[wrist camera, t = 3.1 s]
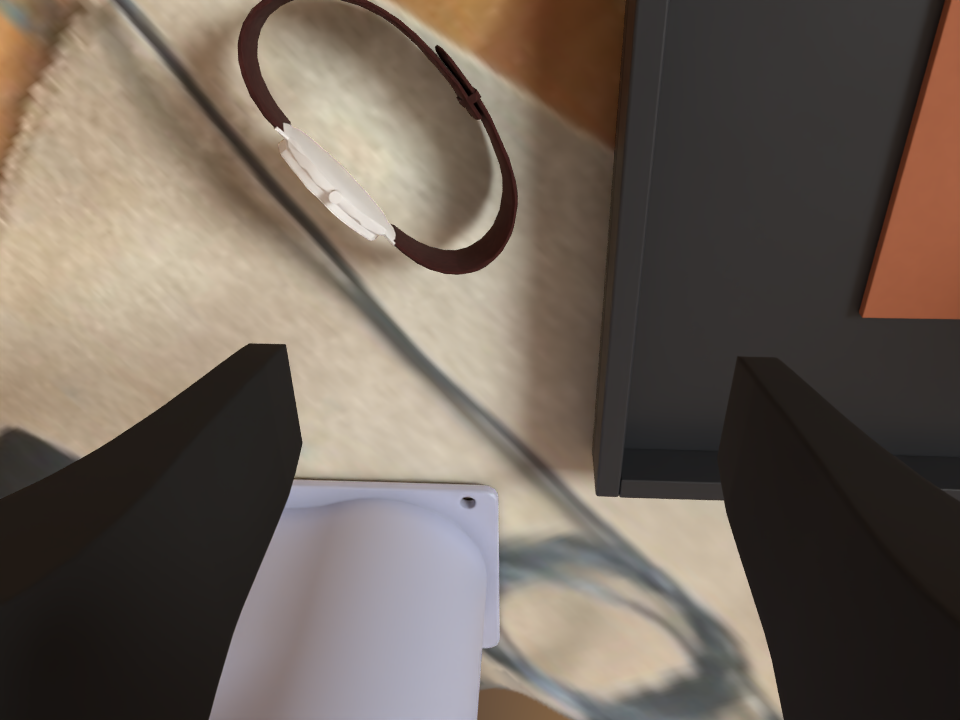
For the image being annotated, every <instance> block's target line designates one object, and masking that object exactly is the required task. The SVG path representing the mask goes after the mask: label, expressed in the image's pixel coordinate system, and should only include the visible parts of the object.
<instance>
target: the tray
mask: <svg viewBox="0 0 960 720" xmlns="http://www.w3.org/2000/svg"><path fill="white" fill-rule="evenodd" d="M944 2H945V0H626V5H625V18H624V32H623V45H622V58H621V72H620V85H619V99H618V112H617V125H616V139H615V152H614V166H613V179H612V192H611V206H610V219H609V233H608V246H607V259H606V273H605V286H604V300H603V313H602V326H601V340H600V353H599V367H598V380H597V393H596V407H595V420H594V434H593V447H592V456H593V467H594V479H595V491H596V495H597V496H607V497H617V496H620V497H625V498H659V499H692V500H724V497H723V492H722V486H721V479H720V473H719V467H718V460H717V455H718V450H719V445H720V440H721V435H722V430H723V425H724V420H725V415H726V410H727V405H728V400H729V395H730V390H731V385H732V380H733V375H734V370H735V365H736V360H737V356H742V357H777V358H778V359H780V360H781V361H782V362H783V363H785V364H786V365H787V366H788V367H789V368H791V369H792V370H793V371H794V372H795V373H796V374H797V375H799V376H800V377H801V378H802V379H803V380H804V381H805V382H807V383H808V384H809V385H810V386H811V387H812V388H813V389H814V390H816V391H817V392H818V393H819V394H820V395H821V396H822V397H823V398H825V399H826V400H827V401H828V402H829V403H830V404H831V405H833V406H834V407H835V408H836V409H837V410H838V411H839V412H841V413H842V414H843V415H844V416H845V417H846V418H848V419H849V420H850V421H851V422H852V423H854V424H855V425H856V426H857V427H858V428H860V429H861V430H862V431H863V432H864V433H866V434H867V435H868V436H869V437H871V438H872V439H873V440H874V441H876V442H877V443H878V444H879V445H881V446H882V447H883V448H884V449H886V450H887V451H888V452H890V453H891V454H892V455H894V456H895V457H896V458H898V459H899V460H900V461H902V462H903V463H904V464H906V465H907V466H908V467H910V468H911V469H912V470H914V471H915V472H916V473H918V474H919V475H921V476H922V477H923V478H925V479H926V480H928V481H929V482H931V483H932V484H934V485H935V486H937V487H938V488H940V489H941V490H943V491H944V492H946V493H947V494H949V495H951V496H952V497H954V498H955V499H957V500H958V501H960V319H909V318H862V317H861V315H860V314H859V310H860V306H861V303H862V299H863V295H864V292H865V288H866V284H867V281H868V277H869V274H870V270H871V266H872V263H873V259H874V256H875V252H876V248H877V245H878V241H879V237H880V234H881V230H882V227H883V223H884V219H885V216H886V212H887V209H888V205H889V201H890V198H891V194H892V190H893V187H894V183H895V180H896V176H897V172H898V169H899V165H900V162H901V158H902V154H903V151H904V147H905V143H906V140H907V136H908V133H909V129H910V125H911V122H912V118H913V114H914V111H915V107H916V104H917V100H918V96H919V93H920V89H921V86H922V82H923V78H924V75H925V71H926V67H927V64H928V60H929V57H930V53H931V49H932V46H933V42H934V39H935V35H936V31H937V28H938V24H939V20H940V17H941V13H942V10H943V6H944Z"/></svg>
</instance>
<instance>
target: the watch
mask: <svg viewBox="0 0 960 720" xmlns="http://www.w3.org/2000/svg"><path fill="white" fill-rule="evenodd" d="M290 1H293V0H262V1H261V2H259V3H258V4H257V5H256V6H255V7H253V8H252V9H251V11H250V13H249V14H248V16H247V17H246V19H245V21H244V22H243V25H242V28H241V31H240V35H239V40H238V61H239V65H240V69H241V74H242V77H243V79H244V82H245V84H246V87H247V89H248V92H249V94H250V96H251V98H252V99H253V101H254V102H255V104H256V105H257V107H258V108H259V110H260V111H261V113H262V114H263V116H264V117H265V118H266V119H267V120H268V121H269V122H270V123H271V124H272V125H273V126H274V129H275V130H276V131H277V132H278V133H279V134H280V135H281V136H282V137H283V138H284V139H283V140H282V141H281V142H280V143H279V144H278V147H279V151H280V154H281V156H282V157H283V159H284V160H285V161H286V163H287V164H288V165H289V167H290V168H291V169H292V170H293V172H294V173H295V174H296V175H297V177H298V178H299V179H300V180H301V181H302V183H303V184H304V185H305V186H306V187H307V188H308V190H309V191H310V192H311V193H312V194H313V195H314V196H315V197H316V198H318V199H319V200H320V201H321V202H322V203H323V204H324V205H325V206H326V207H327V208H328V209H329V210H330V211H331V212H332V213H333V214H334V215H335V216H336V217H337V218H338V219H340V220H341V221H342V222H343V223H345V224H346V225H347V226H349V227H350V228H351V229H352V230H354V231H355V232H357V233H358V234H360V235H361V236H363V237H364V238H366V239H367V240H369V241H371V240H375V239H376V238H377V237H378V235H383V236H384V237H385V238H386V239H387V240H388V241H389V242H390V243H391V244H392V245H393V246H395V247H397V248H398V249H399V250H400V251H401V252H402V253H403V254H405V255H406V256H408V257H409V258H410V259H412V260H413V261H415V262H416V263H417V264H419V265H422V266H424V267H426V268H428V269H430V270H433V271H437V272H441V273H444V274H455V275H458V274H466V273H471V272H475V271H478V270H480V269H482V268H484V267H486V266H487V265H488V264H490V263H491V262H492V261H493V260H494V259H495V258H496V257H497V256H498V255H499V254H500V253H501V252H502V251H503V249H504V247H505V246H506V244H507V242H508V240H509V238H510V236H511V234H512V231H513V228H514V224H515V218H516V212H517V206H518V192H517V186H516V180H515V177H514V173H513V170H512V166H511V163H510V159H509V157H508V154H507V152H506V150H505V148H504V145H503V143H502V141H501V139H500V136H499V134H498V132H497V130H496V127H495V125H494V123H493V121H492V118H491V116H490V114H489V113H488V111H487V109H486V108H485V106H484V104H483V102H482V101H481V99H480V98H481V96H480V94H479V93H478V91H477V90H476V89H475V88H473V87H472V86H471V84H470V83H469V81H468V80H467V79H466V77H465V76H464V75H463V73H462V72H461V71H460V69H459V68H458V67H457V65H456V64H455V62H454V61H453V60H452V59H451V57H450V56H449V55H448V54H447V53H446V52H445V51H444V50H443V48H441V47H440V46H438V45H437V46H435V49H436V52H437V54H438V55H439V57H440V59H441V60H442V61H443V62H442V61H441V60H440V59H439V58H438V56H437V55H436V54H435V53H434V52H433V50H432V49H431V48H430V47H429V46H428V45H427V44H426V43H425V42H424V41H423V40H422V39H421V38H420V37H419V36H418V35H417V34H416V33H415V32H413V31H412V30H411V29H410V28H409V27H408V26H406V25H405V24H404V23H403V22H402V21H401V20H399V19H398V18H396V17H395V16H393V15H392V14H390V13H389V12H387V11H386V10H384V9H382V8H381V7H379V6H377V5H375V4H373V3H371V2H369V1H367V0H342V1H345V2H348V3H352V4H355V5H359V6H361V7H363V8H365V9H367V10H369V11H371V12H373V13H375V14H377V15H379V16H381V17H383V18H384V19H386V20H387V21H388V22H390V23H391V24H393V25H394V26H395V27H397V28H398V29H399V30H400V31H401V32H402V33H403V34H405V35H406V36H407V37H408V38H409V39H410V40H411V41H412V42H413V43H415V44H416V45H417V46H418V47H419V49H420V50H421V51H422V52H423V53H424V54H425V55H426V57H427V58H428V59H429V60H430V61H431V62H432V63H433V64H434V66H435V67H436V68H437V69H438V70H439V71H440V73H441V74H442V75H443V76H444V77H445V78H446V80H447V81H448V82H449V84H450V85H451V87H452V88H453V90H454V91H455V93H456V94H457V97H456V98H457V100H458V101H459V103H460V104H461V105H462V106H463V107H464V108H466V109H467V111H468V112H469V114H470V115H471V116H472V117H473V118H474V119H475V120H480V119H481V121H482V123H483V125H484V127H485V129H486V131H487V133H488V135H489V137H490V140H491V143H492V145H493V148H494V151H495V153H496V156H497V159H498V162H499V164H500V168H501V173H502V184H503V192H502V199H501V205H500V210H499V213H498V215H497V217H496V220H495V222H494V224H493V226H492V227H491V229H490V230H489V231H488V232H487V233H486V234H485V235H484V236H483V237H482V239H480V240H479V241H477V242H476V243H474V244H473V245H471V246H469V247H467V248H463V249H459V250H442V249H438V248H433V247H429V246H427V245H425V244H422V243H420V242H418V241H416V240H415V239H413V238H411V237H410V236H408V235H407V234H405V233H404V232H402V231H401V230H400V229H398V228H397V227H396V226H394V225H392V224H390V223H389V222H388V220H387V218H386V216H385V214H384V212H383V211H382V210H381V208H380V207H379V206H378V205H377V203H376V202H375V201H374V200H373V199H372V197H371V196H370V195H369V194H368V193H367V192H366V191H365V189H364V188H363V187H362V186H361V185H360V184H359V183H358V182H357V181H356V179H355V178H354V177H353V176H352V175H351V174H350V173H349V172H348V171H347V169H346V168H345V167H344V166H343V165H342V164H340V163H339V162H338V161H337V160H336V159H335V158H334V157H333V156H331V155H330V154H329V153H328V152H327V151H326V150H325V149H324V148H322V147H321V146H320V145H319V144H318V143H317V142H316V141H314V140H313V139H312V138H311V137H310V136H308V135H307V134H306V133H305V132H303V131H302V130H300V129H299V128H295V127H292V126H291V122H290V121H289V120H288V118H287V117H286V116H285V115H284V113H283V112H282V111H281V110H280V108H279V107H278V106H277V104H276V102H275V101H274V99H273V98H272V96H271V94H270V93H269V91H268V89H267V86H266V84H265V82H264V80H263V78H262V75H261V71H260V67H259V63H258V58H257V48H258V38H259V35H260V31H261V28H262V26H263V25H264V23H265V21H266V20H267V18H268V17H269V15H270V14H272V13H273V12H274V11H275V10H276V9H278V8H279V7H280V6H282V5H284V4H286V3H288V2H290ZM443 63H444V64H445V65H446V66H447V67H446V66H445V65H444V64H443ZM449 70H450V71H451V72H450V71H449Z"/></svg>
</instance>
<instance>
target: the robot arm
mask: <svg viewBox="0 0 960 720" xmlns="http://www.w3.org/2000/svg"><path fill="white" fill-rule="evenodd" d="M301 447H302V437H301V432H300V426H299V420H298V414H297V408H296V402H295V396H294V390H293V384H292V378H291V372H290V366H289V360H288V355H287V349H286V344H250V343H249V344H248V345H246V346H244V347H243V348H241V349H240V350H238V351H237V352H236V353H234V354H233V355H231V356H230V357H229V358H227V359H226V360H225V361H223V362H222V363H221V364H219V365H218V366H217V367H215V368H214V369H213V370H211V371H210V372H209V373H207V374H206V375H205V376H203V377H202V378H201V379H199V380H198V381H197V382H195V383H194V384H192V385H191V386H190V387H188V388H187V389H186V390H184V391H183V392H182V393H180V394H179V395H177V396H176V397H175V398H173V399H172V400H171V401H169V402H168V403H167V404H165V405H164V406H162V407H161V408H160V409H158V410H157V411H155V412H154V413H152V414H151V415H149V416H148V417H146V418H145V419H143V420H142V421H140V422H139V423H137V424H136V425H134V426H133V427H131V428H130V429H128V430H127V431H125V432H124V433H122V434H121V435H119V436H118V437H116V438H115V439H113V440H112V441H110V442H108V443H107V444H105V445H103V446H102V447H100V448H98V449H97V450H95V451H93V452H92V453H90V454H88V455H87V456H85V457H83V458H81V459H80V460H78V461H76V462H74V463H72V464H70V465H69V466H67V467H65V468H63V469H61V470H59V471H58V472H56V473H54V474H52V475H50V476H48V477H46V478H44V479H42V480H40V481H38V482H36V483H34V484H32V485H30V486H28V487H25V488H23V489H21V490H19V491H17V492H15V493H13V494H10V495H8V496H6V497H4V498H2V499H0V720H477V713H478V712H477V711H478V699H479V685H480V671H481V658H482V648H491V647H494V646H496V645H497V644H498V643H499V636H500V615H499V500H498V493H497V491H496V490H495V489H494V488H492V487H490V486H487V485H471V484H437V483H402V482H368V481H333V480H299V479H294V476H295V472H296V468H297V464H298V460H299V456H300V452H301ZM717 460H718V467H719V473H720V479H721V486H722V492H723V497H724V503H725V508H726V513H727V516H728V520H729V523H730V526H731V529H732V533H733V536H734V539H735V542H736V545H737V549H738V552H739V555H740V558H741V561H742V564H743V567H744V571H745V574H746V577H747V580H748V583H749V586H750V589H751V592H752V596H753V599H754V602H755V605H756V608H757V611H758V614H759V617H760V620H761V624H762V627H763V630H764V633H765V637H766V640H767V644H768V648H769V651H770V655H771V659H772V663H773V668H774V673H775V678H776V683H777V688H778V693H779V698H780V703H781V708H782V713H783V718H784V720H960V501H958V500H957V499H955V498H954V497H952V496H951V495H949V494H947V493H946V492H944V491H943V490H941V489H940V488H938V487H937V486H935V485H934V484H932V483H931V482H929V481H928V480H926V479H925V478H923V477H922V476H921V475H919V474H918V473H916V472H915V471H914V470H912V469H911V468H910V467H908V466H907V465H906V464H904V463H903V462H902V461H900V460H899V459H898V458H896V457H895V456H894V455H892V454H891V453H890V452H888V451H887V450H886V449H884V448H883V447H882V446H881V445H879V444H878V443H877V442H876V441H874V440H873V439H872V438H871V437H869V436H868V435H867V434H866V433H864V432H863V431H862V430H861V429H860V428H858V427H857V426H856V425H855V424H854V423H852V422H851V421H850V420H849V419H848V418H846V417H845V416H844V415H843V414H842V413H841V412H839V411H838V410H837V409H836V408H835V407H834V406H833V405H831V404H830V403H829V402H828V401H827V400H826V399H825V398H823V397H822V396H821V395H820V394H819V393H818V392H817V391H816V390H814V389H813V388H812V387H811V386H810V385H809V384H808V383H807V382H805V381H804V380H803V379H802V378H801V377H800V376H799V375H797V374H796V373H795V372H794V371H793V370H792V369H791V368H789V367H788V366H787V365H786V364H785V363H783V362H782V361H781V360H780V359H778V358H777V357H742V356H737V360H736V365H735V370H734V375H733V380H732V385H731V390H730V395H729V400H728V405H727V410H726V415H725V420H724V425H723V430H722V435H721V440H720V445H719V450H718V455H717ZM464 497H470V498H473V500H470V501H468V500H465V499H463V498H464Z"/></svg>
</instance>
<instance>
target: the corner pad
mask: <svg viewBox="0 0 960 720" xmlns="http://www.w3.org/2000/svg"><path fill="white" fill-rule="evenodd" d="M859 314H860V315H861V317H862V318H909V319H960V0H945V2H944V6H943V10H942V13H941V17H940V20H939V24H938V28H937V31H936V35H935V39H934V42H933V46H932V49H931V53H930V57H929V60H928V64H927V67H926V71H925V75H924V78H923V82H922V86H921V89H920V93H919V96H918V100H917V104H916V107H915V111H914V114H913V118H912V122H911V125H910V129H909V133H908V136H907V140H906V143H905V147H904V151H903V154H902V158H901V162H900V165H899V169H898V172H897V176H896V180H895V183H894V187H893V190H892V194H891V198H890V201H889V205H888V209H887V212H886V216H885V219H884V223H883V227H882V230H881V234H880V237H879V241H878V245H877V248H876V252H875V256H874V259H873V263H872V266H871V270H870V274H869V277H868V281H867V284H866V288H865V292H864V295H863V299H862V303H861V306H860V310H859Z"/></svg>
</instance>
